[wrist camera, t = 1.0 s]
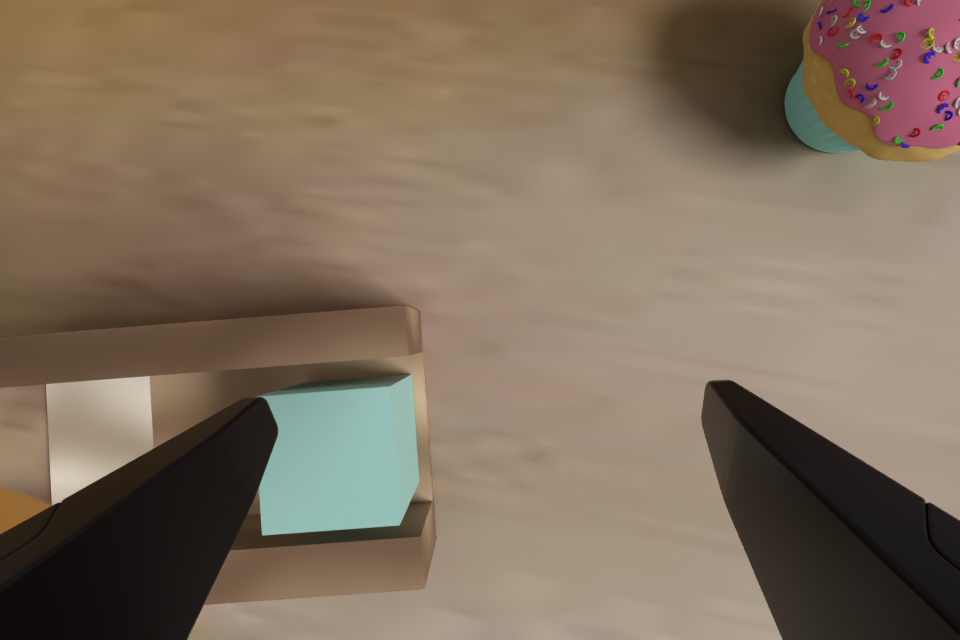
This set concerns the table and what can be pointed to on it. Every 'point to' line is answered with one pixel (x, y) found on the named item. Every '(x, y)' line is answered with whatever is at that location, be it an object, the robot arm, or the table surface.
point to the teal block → (340, 456)
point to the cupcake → (879, 79)
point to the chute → (211, 388)
